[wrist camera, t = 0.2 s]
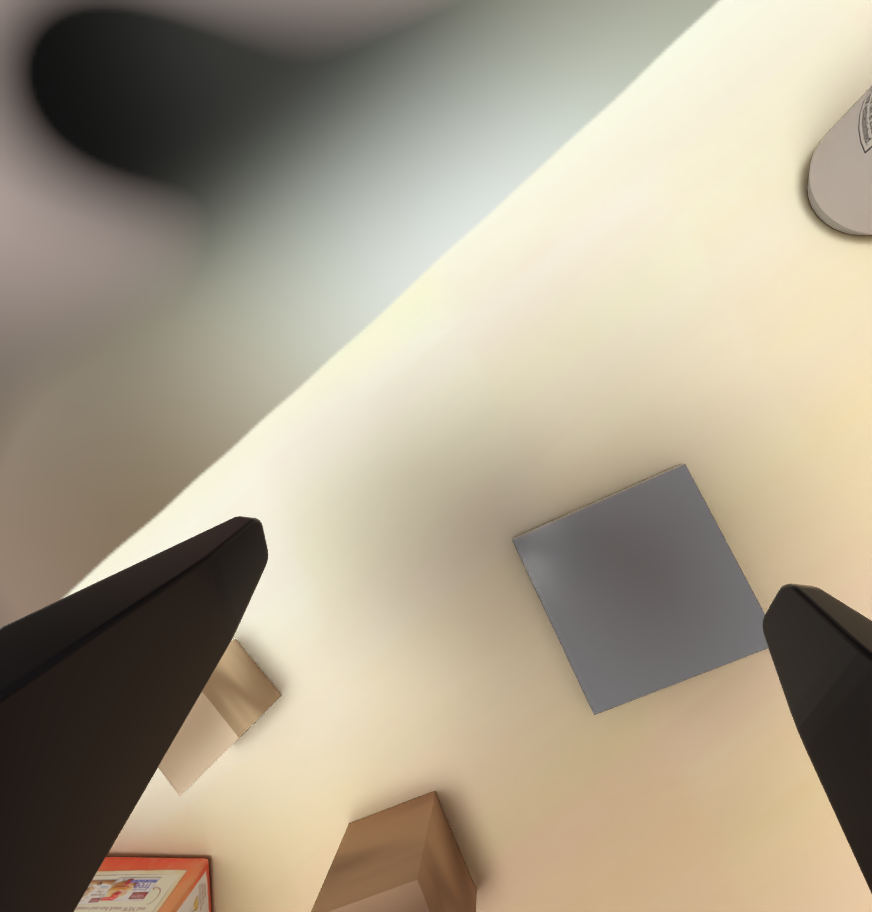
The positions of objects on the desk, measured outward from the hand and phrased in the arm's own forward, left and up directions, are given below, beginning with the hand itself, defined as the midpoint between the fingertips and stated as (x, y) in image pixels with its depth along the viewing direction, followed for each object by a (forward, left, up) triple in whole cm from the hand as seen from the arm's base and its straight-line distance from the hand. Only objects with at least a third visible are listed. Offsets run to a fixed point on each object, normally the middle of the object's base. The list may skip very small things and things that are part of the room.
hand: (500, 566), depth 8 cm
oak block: (-3, +17, -15) cm, 23 cm away
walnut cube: (-14, +11, -15) cm, 23 cm away
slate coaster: (-6, -5, -15) cm, 17 cm away
